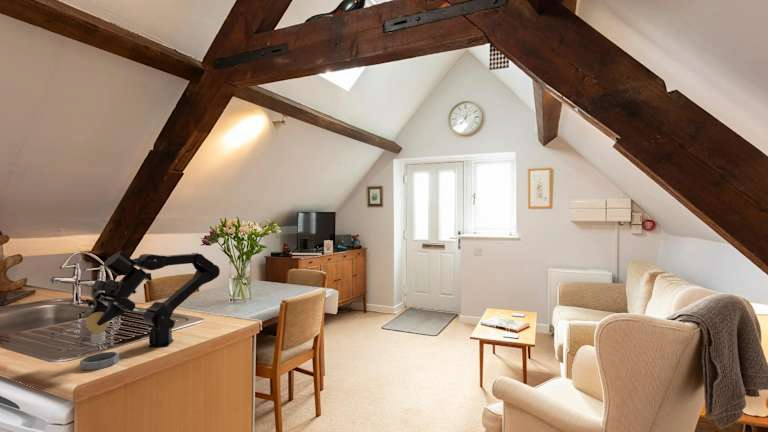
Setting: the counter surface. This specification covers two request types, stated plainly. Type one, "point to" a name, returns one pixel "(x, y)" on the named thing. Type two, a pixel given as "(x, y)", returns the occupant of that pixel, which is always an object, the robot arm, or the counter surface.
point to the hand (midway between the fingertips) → (93, 323)
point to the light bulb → (96, 327)
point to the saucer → (99, 360)
